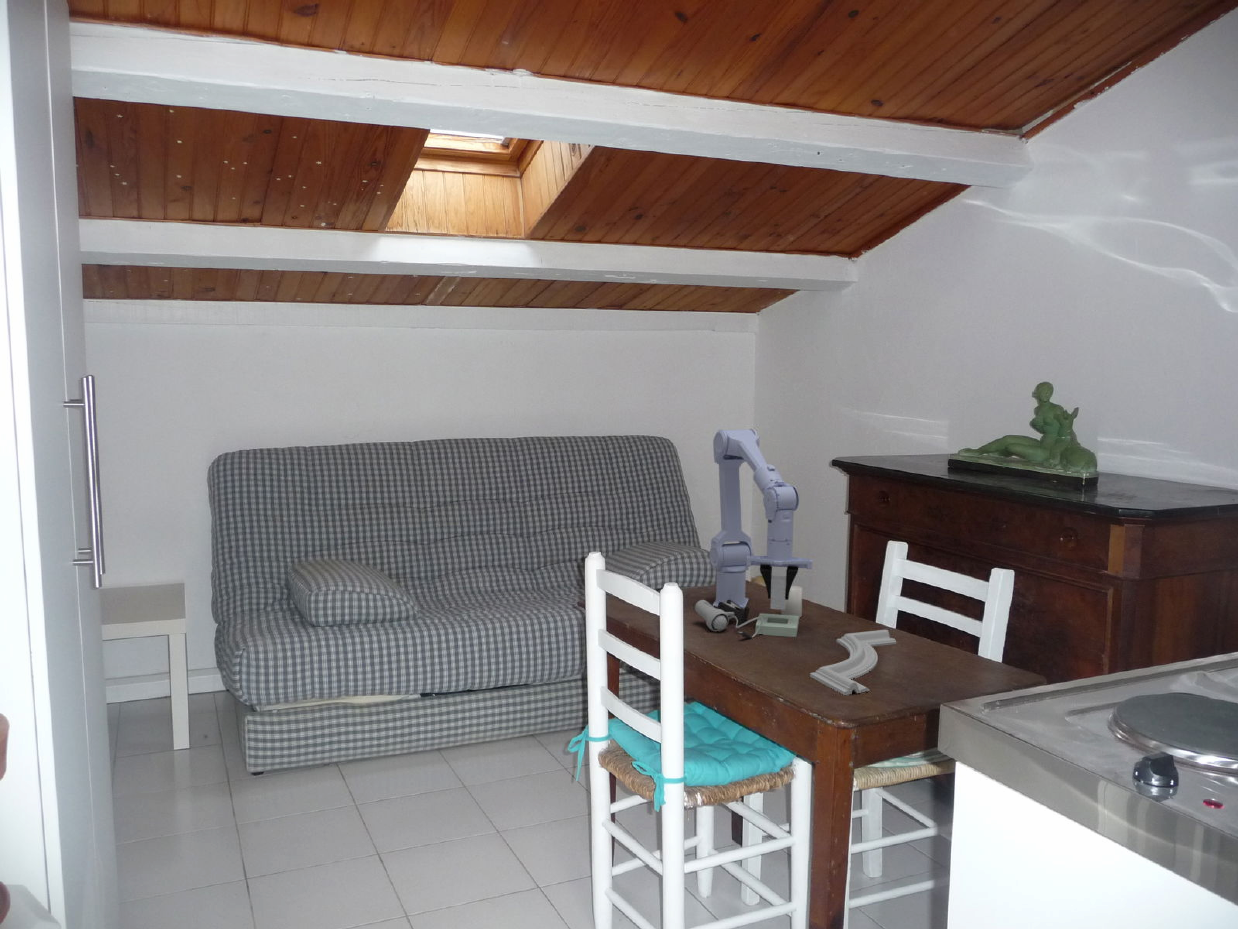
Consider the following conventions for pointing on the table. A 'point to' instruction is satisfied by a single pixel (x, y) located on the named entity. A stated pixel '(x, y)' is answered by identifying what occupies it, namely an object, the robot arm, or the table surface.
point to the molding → (853, 661)
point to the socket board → (778, 625)
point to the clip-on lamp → (725, 615)
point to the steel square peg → (778, 592)
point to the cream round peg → (794, 602)
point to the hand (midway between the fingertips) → (778, 598)
